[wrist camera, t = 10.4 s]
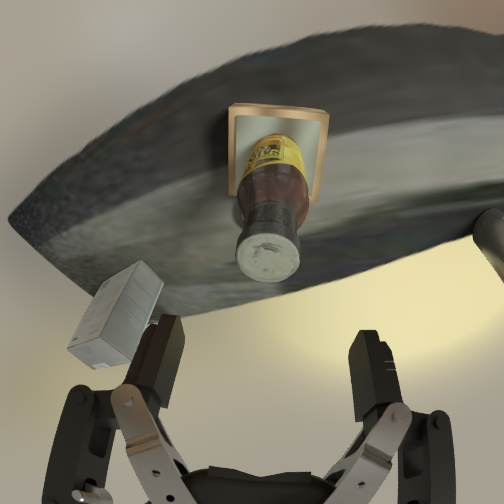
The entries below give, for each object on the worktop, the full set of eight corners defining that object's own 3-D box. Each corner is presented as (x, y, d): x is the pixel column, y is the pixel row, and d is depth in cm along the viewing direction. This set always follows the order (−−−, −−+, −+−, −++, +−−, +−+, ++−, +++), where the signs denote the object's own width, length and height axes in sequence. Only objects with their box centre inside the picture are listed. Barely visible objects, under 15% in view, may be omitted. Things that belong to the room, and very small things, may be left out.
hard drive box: (124, 302, 61) (92, 370, 45) (102, 281, 57) (64, 348, 41) (166, 283, 55) (133, 364, 39) (141, 257, 51) (97, 337, 35)
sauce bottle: (275, 121, 29) (272, 184, 14) (312, 156, 32) (347, 254, 16) (239, 158, 33) (199, 256, 17) (275, 189, 35) (271, 306, 19)
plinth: (322, 109, 32) (330, 115, 28) (313, 187, 40) (317, 203, 35) (234, 103, 33) (228, 107, 29) (233, 181, 40) (228, 196, 36)
